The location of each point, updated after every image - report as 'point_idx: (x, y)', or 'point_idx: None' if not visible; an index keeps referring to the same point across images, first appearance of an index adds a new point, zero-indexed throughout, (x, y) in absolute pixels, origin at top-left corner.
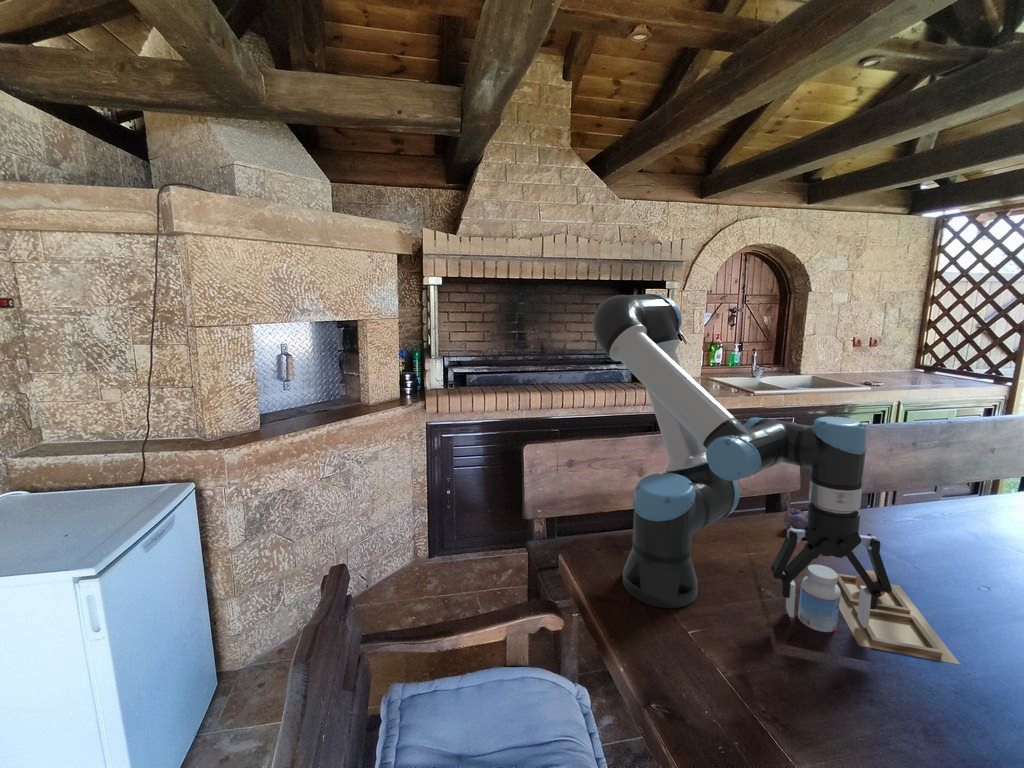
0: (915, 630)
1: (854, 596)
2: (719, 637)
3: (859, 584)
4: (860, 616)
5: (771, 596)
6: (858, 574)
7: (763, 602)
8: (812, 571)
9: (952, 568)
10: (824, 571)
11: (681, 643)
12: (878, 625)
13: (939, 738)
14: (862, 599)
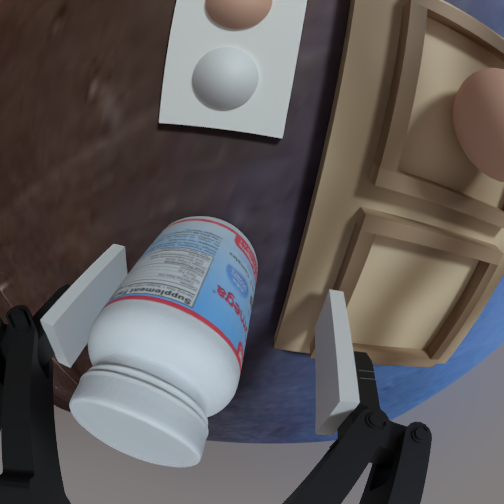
0: (465, 285)
1: (421, 121)
2: (30, 300)
3: (463, 125)
4: (323, 323)
5: (110, 125)
6: (492, 93)
7: (84, 168)
8: (90, 430)
9: None
10: (140, 442)
11: (3, 309)
12: (389, 277)
13: (289, 433)
14: (325, 380)
